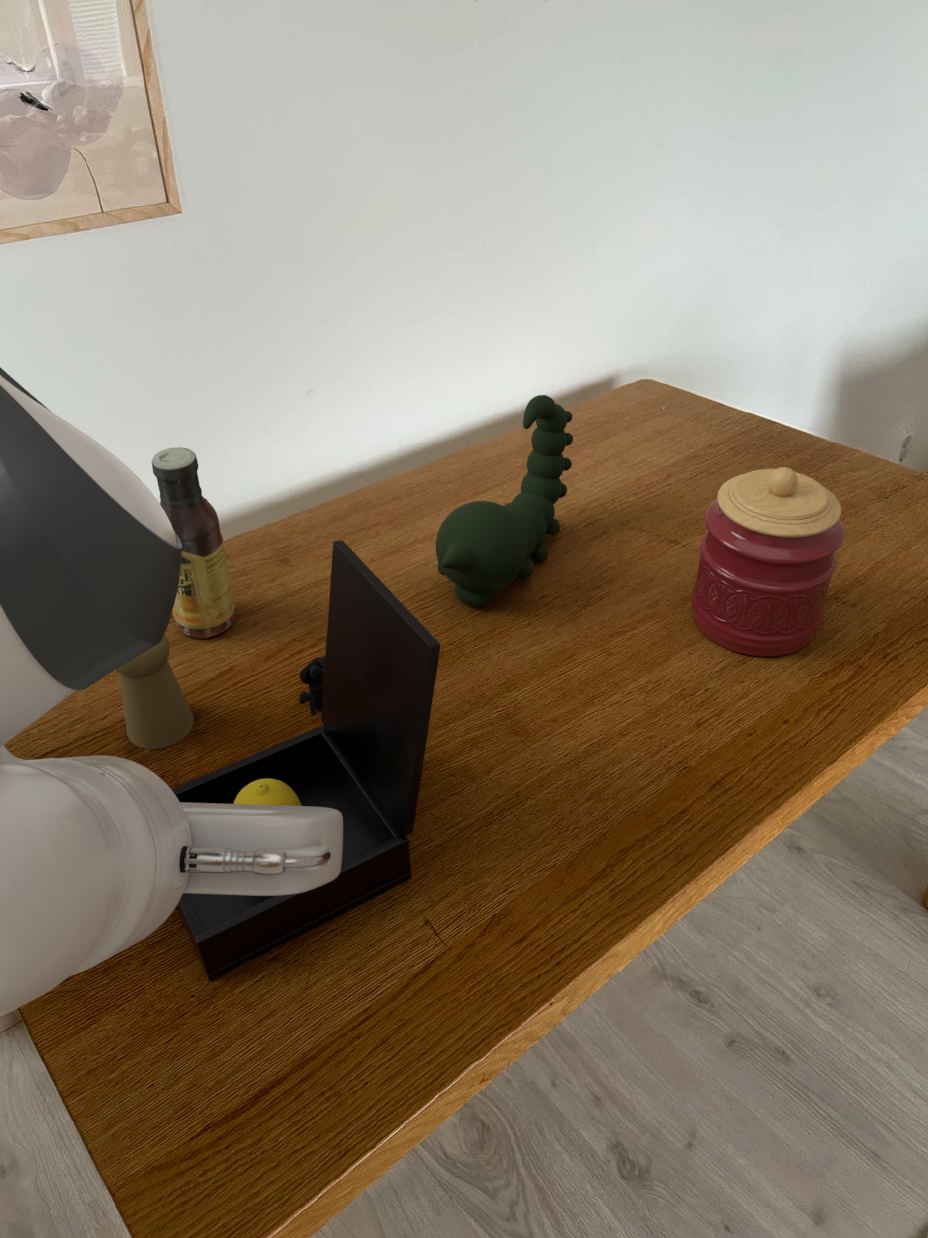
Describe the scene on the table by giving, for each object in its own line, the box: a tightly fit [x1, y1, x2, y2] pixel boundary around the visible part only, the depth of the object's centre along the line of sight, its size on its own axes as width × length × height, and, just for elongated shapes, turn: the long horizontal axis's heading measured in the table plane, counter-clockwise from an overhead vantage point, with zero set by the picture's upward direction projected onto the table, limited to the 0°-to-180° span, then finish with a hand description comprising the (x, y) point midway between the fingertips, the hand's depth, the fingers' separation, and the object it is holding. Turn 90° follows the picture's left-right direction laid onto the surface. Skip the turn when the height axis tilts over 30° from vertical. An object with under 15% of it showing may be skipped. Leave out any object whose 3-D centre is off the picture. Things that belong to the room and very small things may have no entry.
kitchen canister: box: [691, 466, 846, 657], centre depth 96 cm, size 13×13×18 cm
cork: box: [114, 633, 195, 750], centre depth 87 cm, size 6×6×11 cm
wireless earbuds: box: [298, 655, 325, 717], centre depth 91 cm, size 7×2×5 cm, turn 149°
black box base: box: [170, 724, 412, 982], centre depth 77 cm, size 17×15×5 cm
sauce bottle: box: [151, 446, 236, 640], centre depth 96 cm, size 6×6×20 cm
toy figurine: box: [435, 394, 574, 609], centre depth 103 cm, size 9×19×25 cm
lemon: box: [233, 778, 302, 806], centre depth 75 cm, size 6×6×8 cm
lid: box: [320, 539, 442, 837], centre depth 74 cm, size 18×15×1 cm
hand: (187, 826), depth 57 cm, fingers open, 8 cm apart
